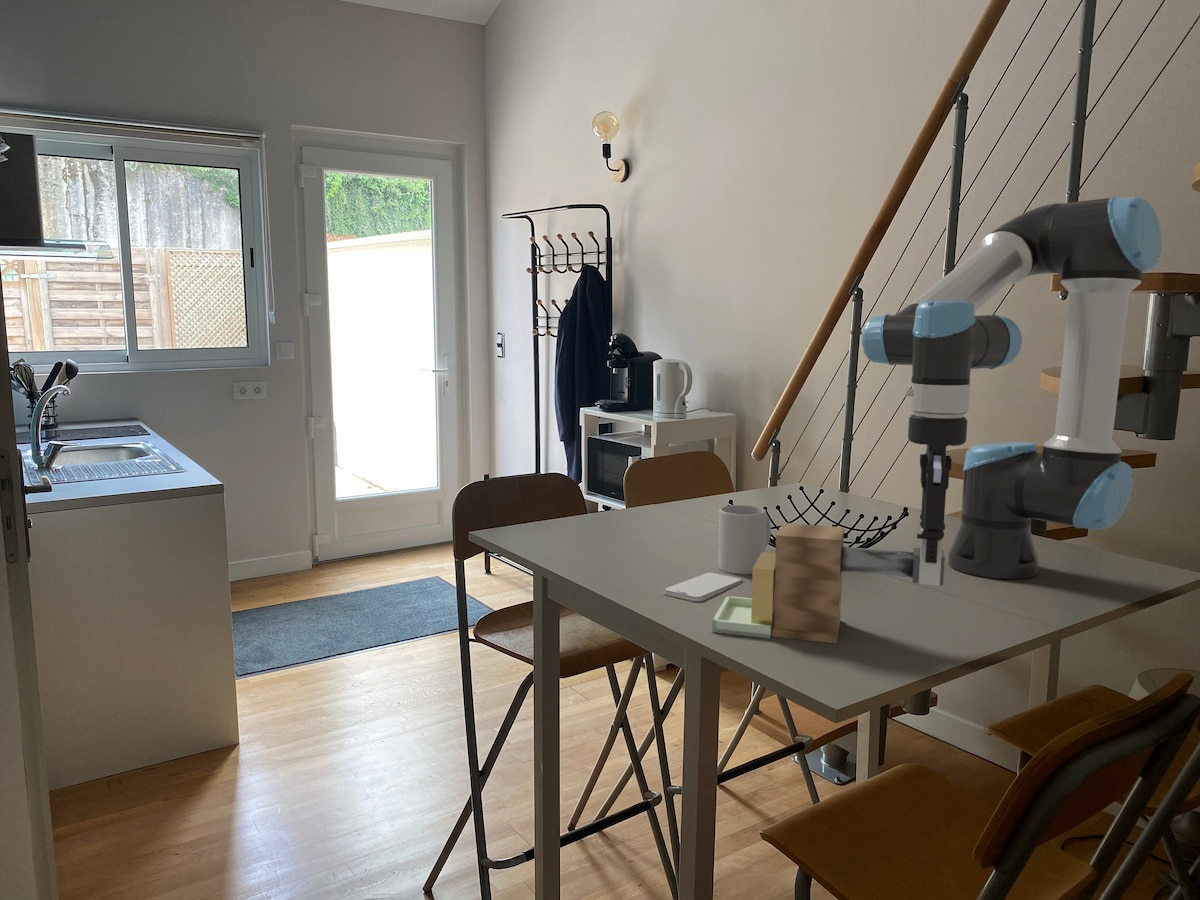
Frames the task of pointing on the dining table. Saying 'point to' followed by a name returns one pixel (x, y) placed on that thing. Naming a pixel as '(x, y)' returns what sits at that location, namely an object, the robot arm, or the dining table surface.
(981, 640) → the dining table surface
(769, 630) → the green tray
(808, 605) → the walnut housing
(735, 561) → the mug
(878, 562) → the steel shaft
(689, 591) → the smartphone
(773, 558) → the yellow square block
